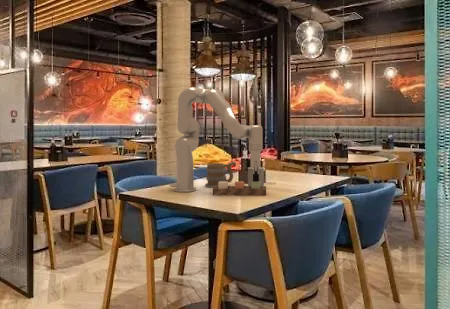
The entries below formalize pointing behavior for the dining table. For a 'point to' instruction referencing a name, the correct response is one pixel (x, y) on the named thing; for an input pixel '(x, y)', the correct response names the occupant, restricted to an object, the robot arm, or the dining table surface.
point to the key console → (239, 191)
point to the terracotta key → (239, 184)
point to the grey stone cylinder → (260, 172)
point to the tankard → (218, 173)
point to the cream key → (223, 184)
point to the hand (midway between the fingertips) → (256, 181)
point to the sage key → (255, 184)
